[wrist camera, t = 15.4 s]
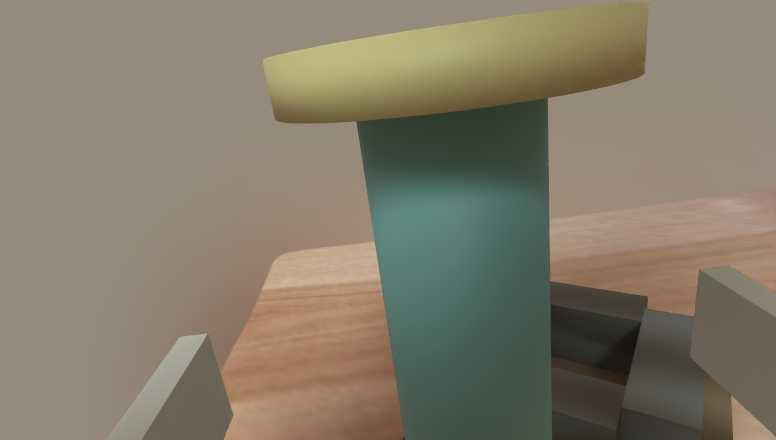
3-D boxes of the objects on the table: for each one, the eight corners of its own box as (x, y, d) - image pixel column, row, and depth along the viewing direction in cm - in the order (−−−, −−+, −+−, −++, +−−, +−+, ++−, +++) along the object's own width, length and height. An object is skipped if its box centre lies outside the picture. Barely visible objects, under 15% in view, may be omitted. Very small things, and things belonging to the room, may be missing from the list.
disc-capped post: (444, 482, 22) (392, 50, 15) (628, 567, 17) (665, 7, 11) (341, 659, 16) (181, 72, 9) (581, 862, 11) (604, -8, 5)
